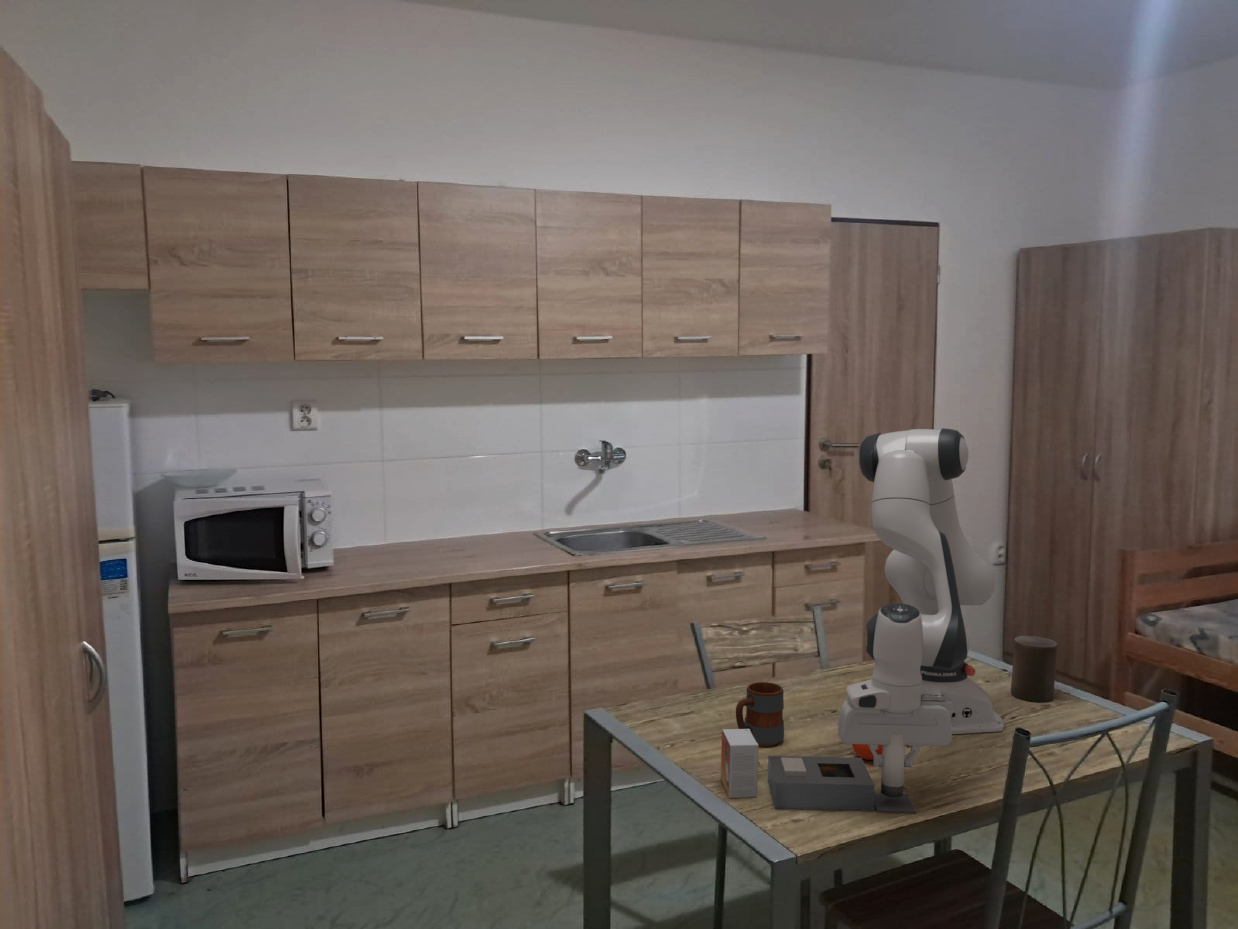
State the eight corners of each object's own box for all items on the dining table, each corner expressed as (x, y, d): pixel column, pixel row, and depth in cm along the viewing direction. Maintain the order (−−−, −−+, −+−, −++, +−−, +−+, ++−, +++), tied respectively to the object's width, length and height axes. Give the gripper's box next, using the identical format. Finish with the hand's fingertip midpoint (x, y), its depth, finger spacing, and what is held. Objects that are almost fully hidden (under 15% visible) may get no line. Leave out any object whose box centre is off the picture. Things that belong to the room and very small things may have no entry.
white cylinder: (900, 788, 187) (903, 726, 185) (905, 797, 183) (908, 735, 181) (878, 787, 187) (881, 726, 186) (883, 797, 183) (886, 734, 182)
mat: (906, 796, 189) (906, 794, 189) (916, 813, 182) (916, 811, 182) (869, 795, 189) (869, 793, 189) (877, 812, 182) (877, 810, 182)
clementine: (847, 749, 210) (848, 716, 209) (880, 750, 210) (881, 717, 209) (854, 765, 202) (856, 731, 202) (889, 766, 202) (890, 732, 201)
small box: (720, 780, 195) (721, 728, 194) (748, 779, 195) (749, 727, 194) (728, 799, 187) (729, 745, 186) (757, 798, 188) (759, 744, 186)
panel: (860, 782, 194) (861, 753, 194) (873, 811, 183) (875, 779, 182) (767, 780, 195) (768, 751, 194) (775, 808, 183) (775, 777, 182)
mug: (722, 740, 214) (724, 688, 213) (765, 729, 221) (767, 678, 219) (748, 754, 207) (750, 700, 206) (792, 742, 213) (793, 690, 212)
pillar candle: (1037, 705, 237) (1042, 644, 235) (1002, 693, 245) (1006, 633, 243) (1062, 698, 242) (1066, 638, 240) (1026, 686, 250) (1030, 628, 248)
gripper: (948, 689, 186) (944, 760, 187) (837, 686, 186) (835, 757, 188) (958, 701, 179) (954, 775, 181) (844, 698, 180) (841, 772, 182)
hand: (892, 766), depth 184 cm, fingers closed on white cylinder, 4 cm apart
